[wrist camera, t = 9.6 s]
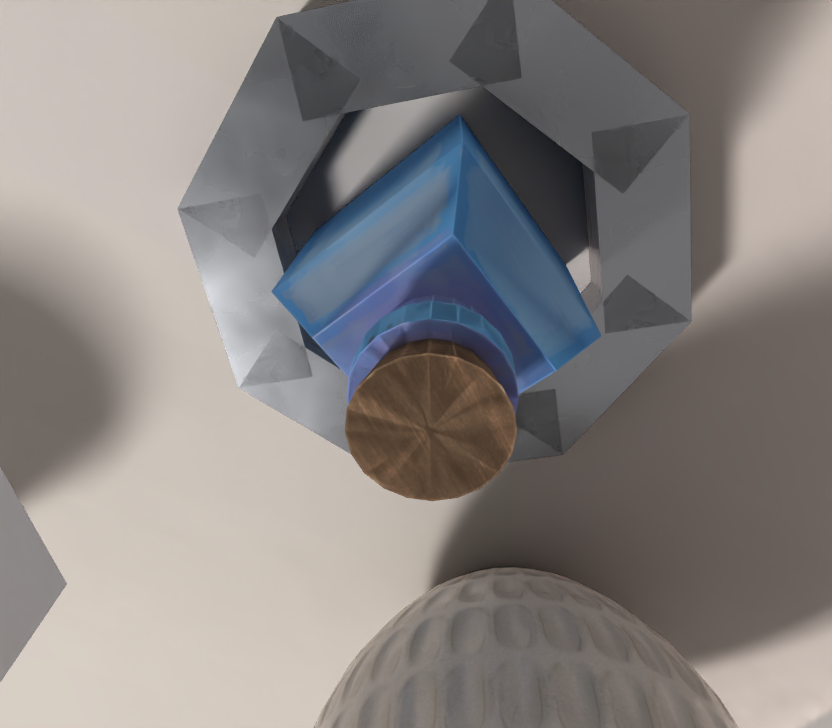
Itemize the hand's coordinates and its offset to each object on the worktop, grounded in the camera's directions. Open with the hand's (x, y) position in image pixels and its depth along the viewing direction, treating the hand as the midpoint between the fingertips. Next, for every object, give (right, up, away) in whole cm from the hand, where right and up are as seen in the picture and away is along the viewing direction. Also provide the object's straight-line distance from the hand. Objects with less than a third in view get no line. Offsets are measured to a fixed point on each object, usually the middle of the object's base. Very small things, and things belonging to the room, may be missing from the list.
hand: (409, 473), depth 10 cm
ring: (+1, +6, +12) cm, 14 cm away
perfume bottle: (+1, +6, +13) cm, 14 cm away
